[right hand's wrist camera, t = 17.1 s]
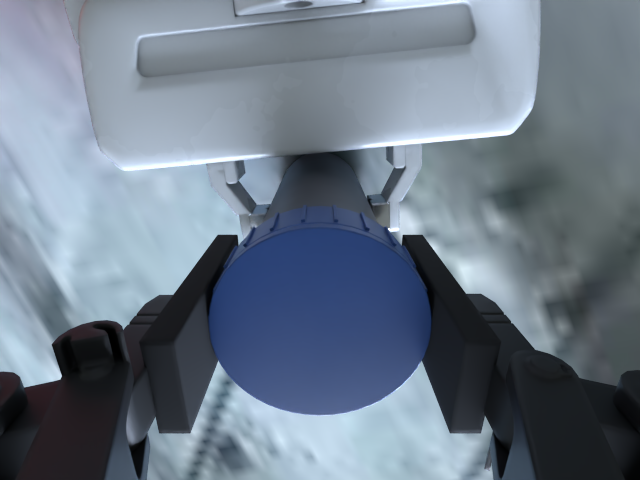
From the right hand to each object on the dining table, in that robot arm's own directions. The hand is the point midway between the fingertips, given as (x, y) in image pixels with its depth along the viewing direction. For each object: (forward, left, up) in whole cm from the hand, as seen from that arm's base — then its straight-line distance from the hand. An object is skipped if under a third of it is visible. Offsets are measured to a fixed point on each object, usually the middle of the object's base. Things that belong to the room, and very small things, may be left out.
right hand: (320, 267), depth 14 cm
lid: (0, 0, +4) cm, 4 cm away
